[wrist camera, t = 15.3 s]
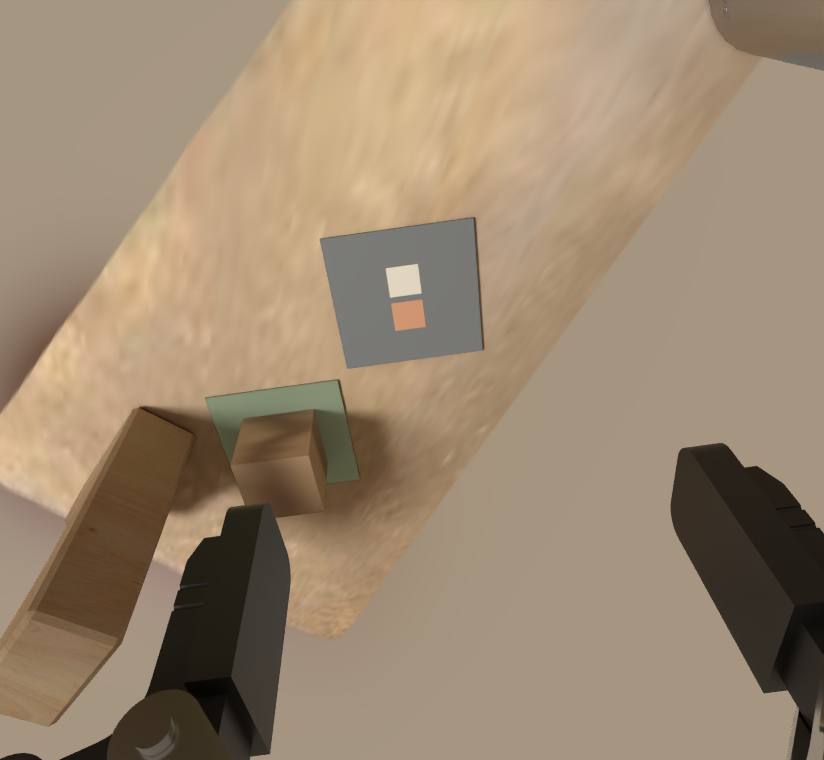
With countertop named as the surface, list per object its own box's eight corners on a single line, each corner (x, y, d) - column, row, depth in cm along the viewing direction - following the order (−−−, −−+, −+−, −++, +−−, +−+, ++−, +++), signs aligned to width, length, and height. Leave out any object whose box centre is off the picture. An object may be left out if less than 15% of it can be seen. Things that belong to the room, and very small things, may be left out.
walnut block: (313, 408, 52) (308, 455, 47) (327, 462, 56) (324, 511, 51) (243, 418, 52) (230, 465, 47) (261, 471, 56) (251, 521, 51)
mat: (337, 379, 51) (337, 380, 51) (359, 478, 57) (359, 479, 57) (205, 397, 51) (204, 398, 51) (241, 494, 57) (241, 495, 57)
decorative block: (141, 510, 58) (50, 731, 41) (81, 484, 55) (-41, 706, 39) (200, 434, 53) (125, 647, 37) (137, 402, 51) (27, 612, 34)
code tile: (473, 217, 44) (473, 218, 44) (482, 349, 50) (482, 350, 50) (320, 238, 44) (319, 239, 44) (347, 367, 50) (347, 368, 50)
